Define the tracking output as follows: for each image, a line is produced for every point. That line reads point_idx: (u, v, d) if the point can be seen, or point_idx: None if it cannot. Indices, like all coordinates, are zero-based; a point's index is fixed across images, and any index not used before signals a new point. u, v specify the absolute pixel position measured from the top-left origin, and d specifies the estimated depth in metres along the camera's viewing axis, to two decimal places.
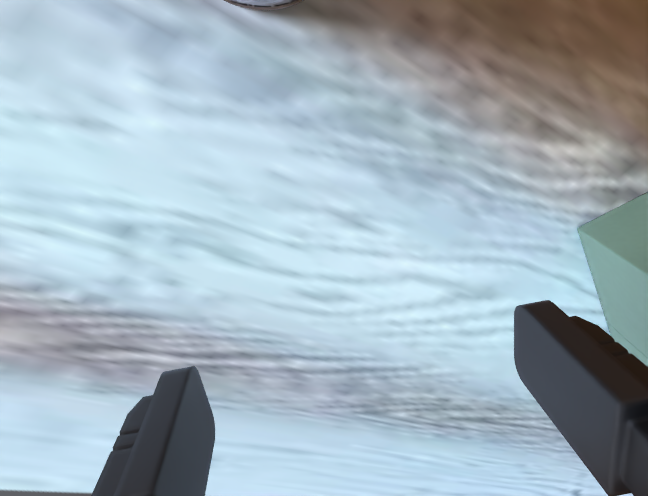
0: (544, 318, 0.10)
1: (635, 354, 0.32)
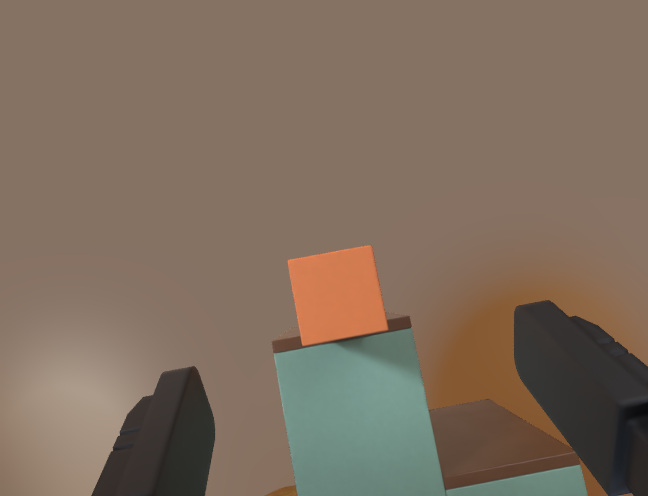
0: (544, 318, 0.10)
1: None
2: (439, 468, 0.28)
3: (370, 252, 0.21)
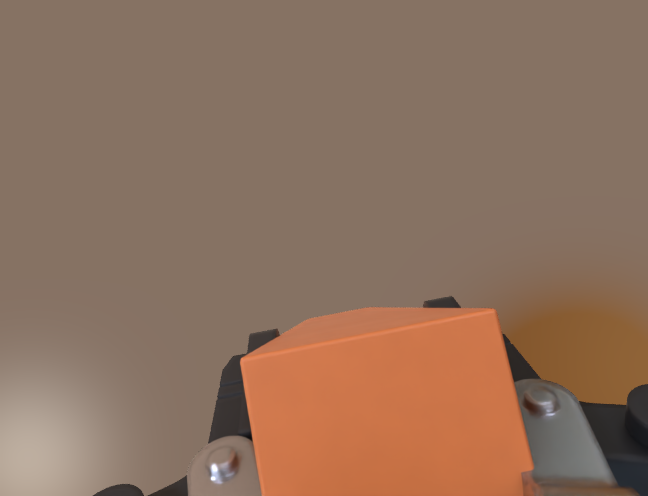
0: None
1: None
2: None
3: (495, 334, 0.07)
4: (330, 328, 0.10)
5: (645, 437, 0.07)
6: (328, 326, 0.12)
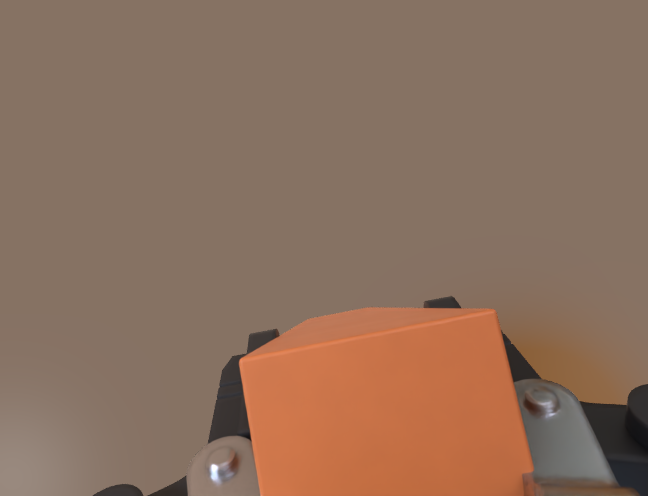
0: None
1: None
2: None
3: (495, 335, 0.07)
4: (330, 328, 0.10)
5: (646, 437, 0.07)
6: (328, 326, 0.12)
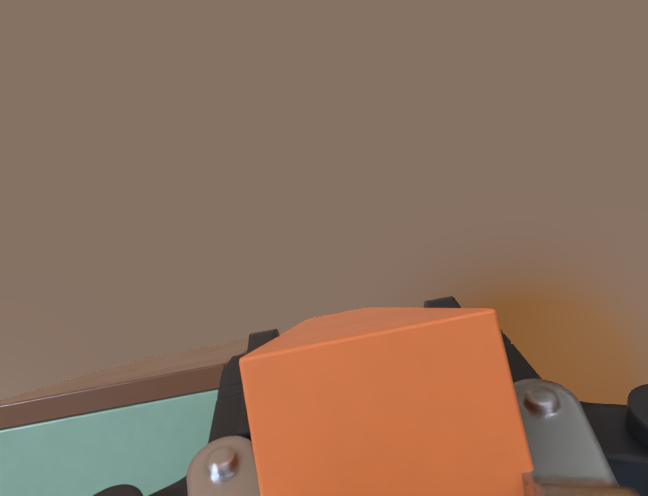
0: None
1: None
2: None
3: (494, 334, 0.07)
4: (329, 328, 0.10)
5: (645, 437, 0.07)
6: (328, 326, 0.12)
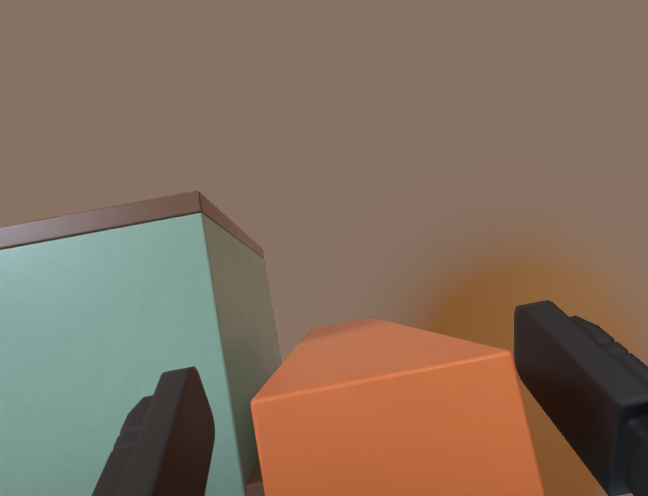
0: (544, 318, 0.10)
1: None
2: (239, 469, 0.15)
3: (510, 377, 0.07)
4: (338, 356, 0.10)
5: None
6: (335, 351, 0.11)
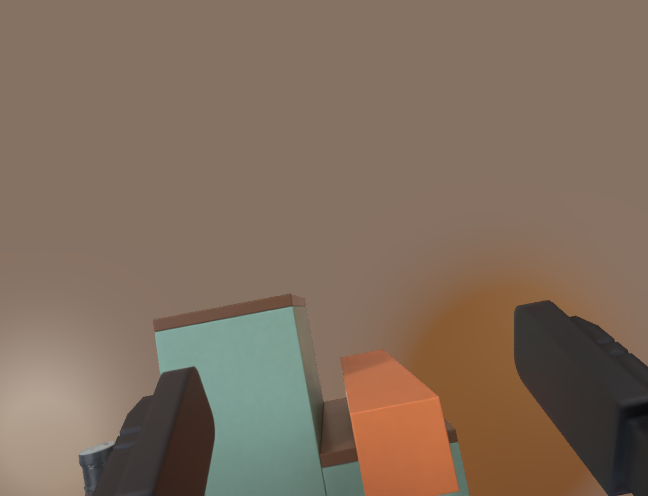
0: (544, 318, 0.10)
1: None
2: (316, 446, 0.28)
3: (438, 406, 0.20)
4: (374, 392, 0.23)
5: None
6: (371, 387, 0.24)
